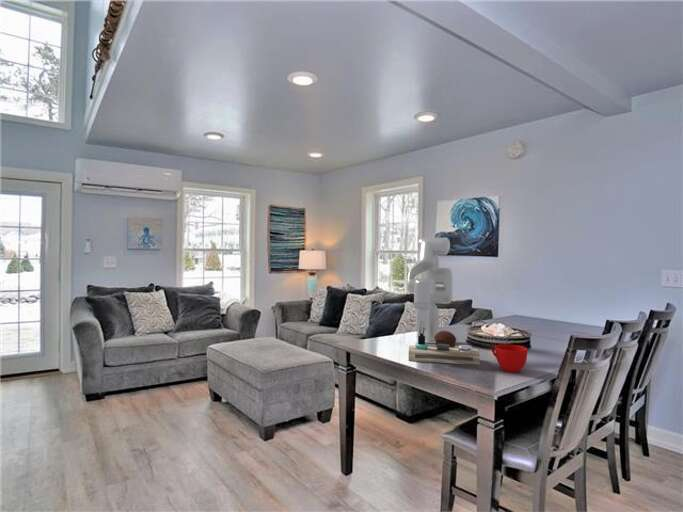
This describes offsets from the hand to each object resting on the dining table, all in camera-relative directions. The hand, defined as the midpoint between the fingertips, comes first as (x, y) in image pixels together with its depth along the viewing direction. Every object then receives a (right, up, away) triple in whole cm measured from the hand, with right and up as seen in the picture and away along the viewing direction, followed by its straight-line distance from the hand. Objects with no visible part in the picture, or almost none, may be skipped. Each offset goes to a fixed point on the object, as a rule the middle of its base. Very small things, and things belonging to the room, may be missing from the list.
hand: (421, 344), depth 200 cm
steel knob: (+20, -7, -4) cm, 21 cm away
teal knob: (0, -7, 0) cm, 7 cm away
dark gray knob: (+10, -7, -2) cm, 12 cm away
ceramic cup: (+34, -8, -17) cm, 39 cm away
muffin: (+16, -7, +18) cm, 25 cm away
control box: (+10, -7, -2) cm, 12 cm away
